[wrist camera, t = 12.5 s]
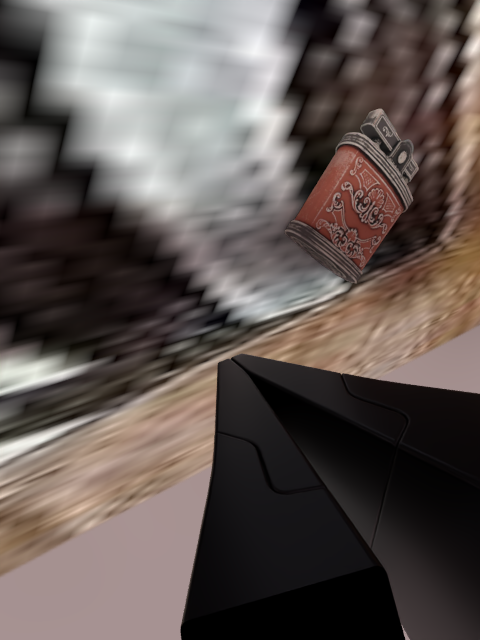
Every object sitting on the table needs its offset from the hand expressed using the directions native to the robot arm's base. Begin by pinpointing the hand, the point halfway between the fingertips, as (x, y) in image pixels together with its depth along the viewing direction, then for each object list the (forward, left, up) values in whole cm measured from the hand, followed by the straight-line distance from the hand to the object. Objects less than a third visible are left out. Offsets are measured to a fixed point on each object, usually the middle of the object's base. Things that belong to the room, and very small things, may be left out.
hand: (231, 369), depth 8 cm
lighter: (+12, -2, -10) cm, 16 cm away
